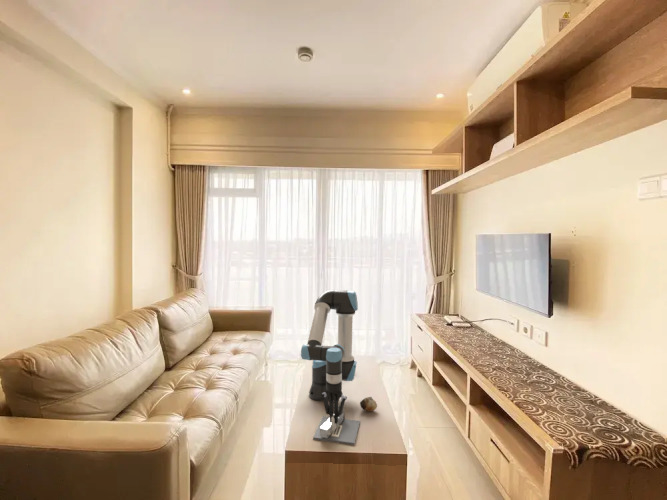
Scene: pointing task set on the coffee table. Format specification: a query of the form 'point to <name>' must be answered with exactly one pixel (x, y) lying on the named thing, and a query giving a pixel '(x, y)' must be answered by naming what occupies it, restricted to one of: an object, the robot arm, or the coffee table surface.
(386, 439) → the coffee table surface
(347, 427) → the panel
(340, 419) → the swing bar
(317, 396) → the robot arm
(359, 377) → the coffee table surface
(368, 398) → the seashell
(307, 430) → the coffee table surface
